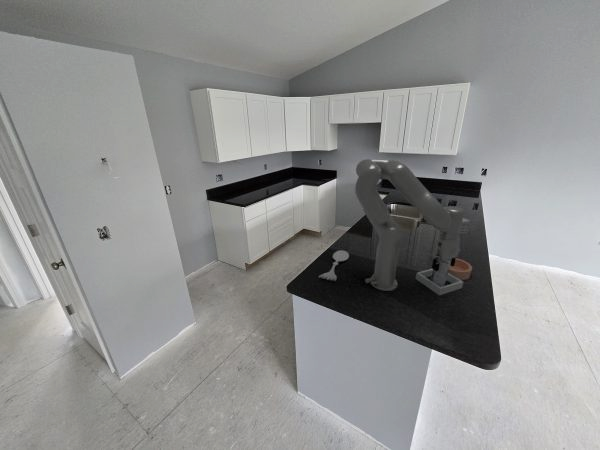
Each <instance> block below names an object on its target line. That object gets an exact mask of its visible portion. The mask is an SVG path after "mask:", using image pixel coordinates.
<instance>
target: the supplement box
mask: <svg viewBox="0 0 600 450" xmlns="http://www.w3.org/2000/svg"><path fill="white" fill-rule="evenodd" d="M471 221H472V220H469V219H467V218H465V217H463V221H462V226H461V230H460V235H462V234H464V235H465V234H469V230H470V226H471V223H472V222H471Z"/></svg>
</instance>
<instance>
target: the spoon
mask: <svg viewBox="0 0 600 450" xmlns="http://www.w3.org/2000/svg"><path fill="white" fill-rule="evenodd" d="M349 257H350V254H349V252H348V251H346V250H337V251H335V252H334V253H333V254H332V259H334V262H332V267H331V269H330V270H329V271H328V272H324V273H322V274H320V275H319V276H318V278H319V279H320V278H321V279H323V280H324V279H326V281H334V282H336V281H337V279H338V276H337V275H336V274H335V268H336V267H337V266H338V265H339V263H340V262H344V261H347V260H349Z"/></svg>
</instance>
